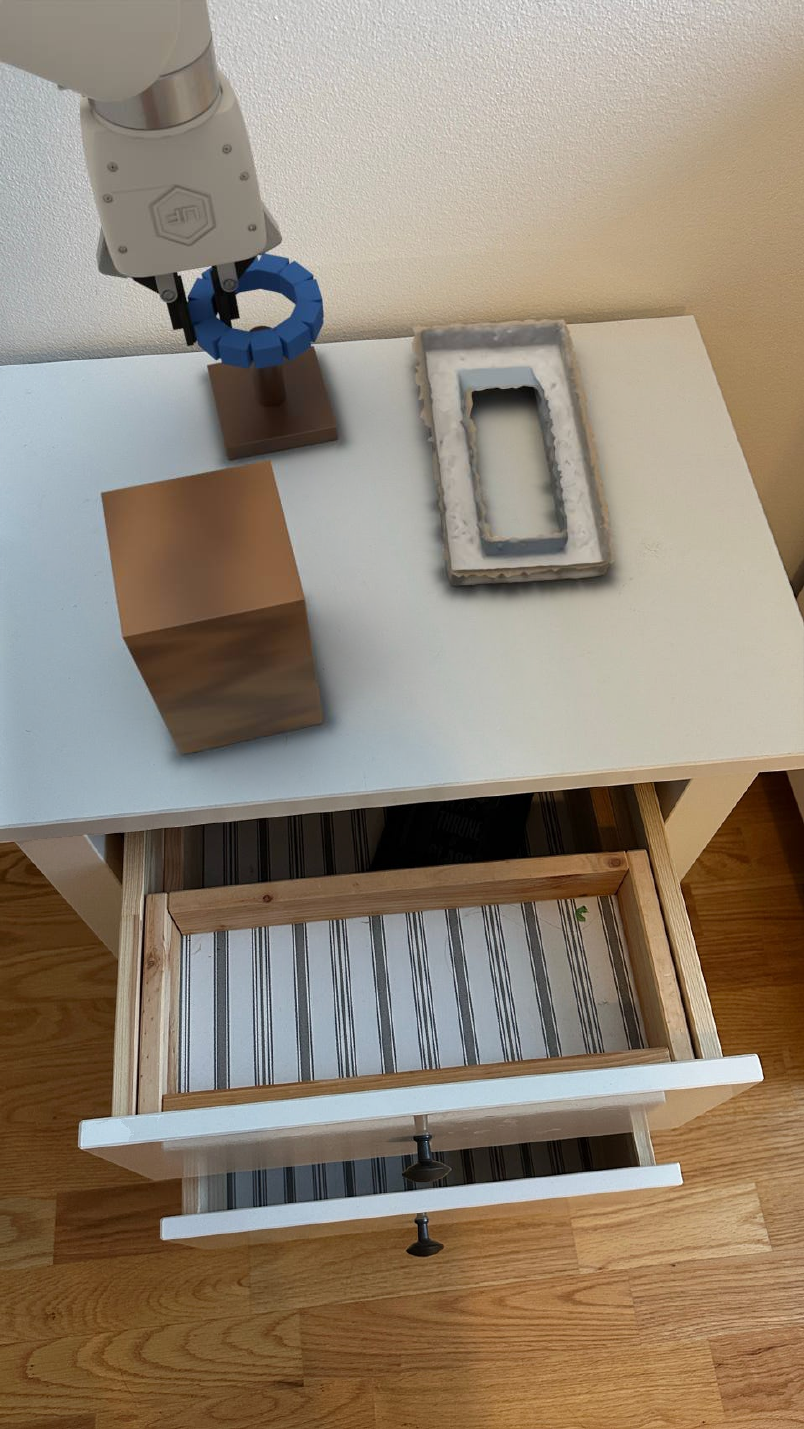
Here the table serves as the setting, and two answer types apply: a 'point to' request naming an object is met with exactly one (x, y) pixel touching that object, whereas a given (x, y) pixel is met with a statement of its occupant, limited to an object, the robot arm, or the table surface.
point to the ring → (264, 343)
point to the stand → (214, 605)
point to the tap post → (272, 405)
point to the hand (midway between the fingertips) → (207, 327)
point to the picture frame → (546, 363)
